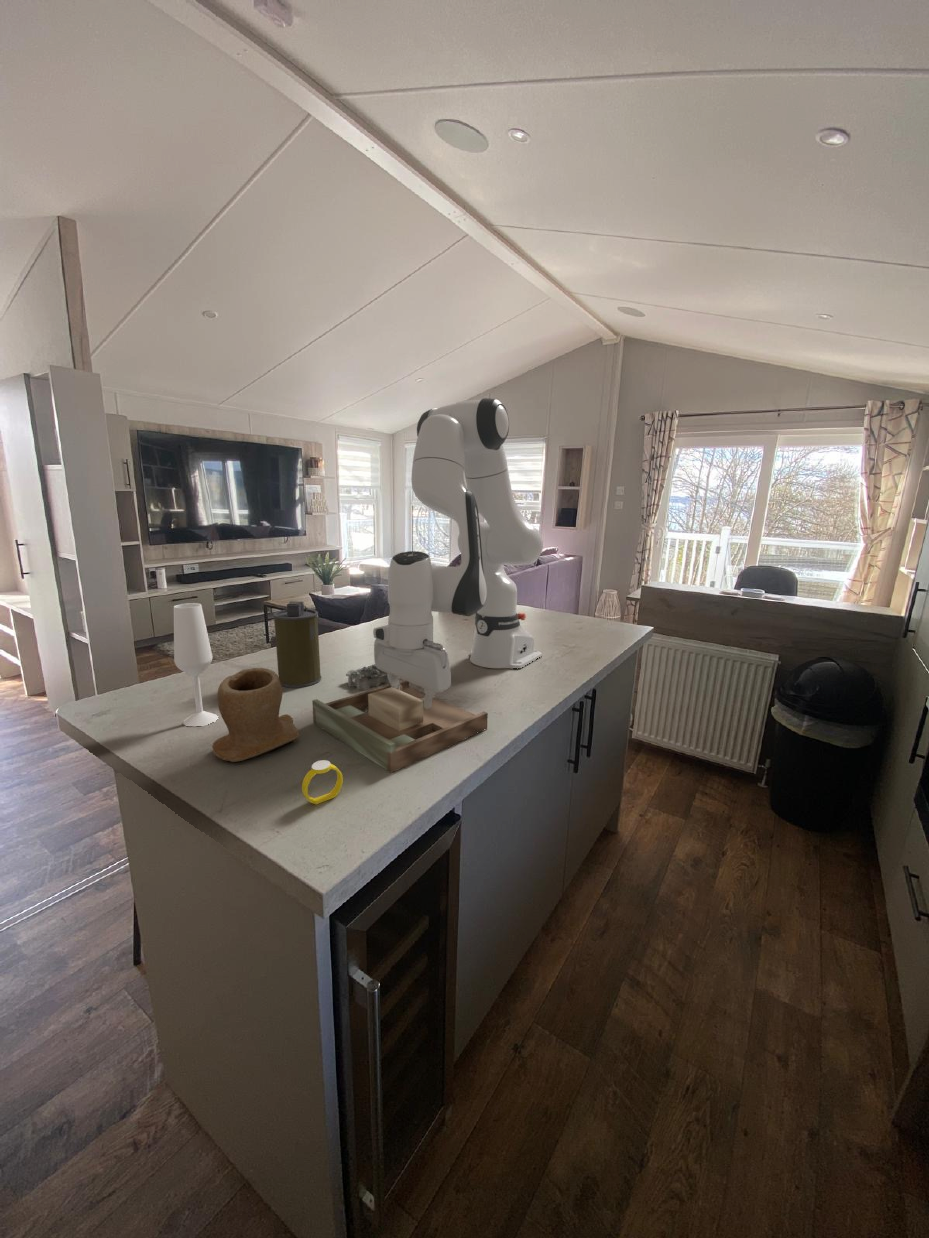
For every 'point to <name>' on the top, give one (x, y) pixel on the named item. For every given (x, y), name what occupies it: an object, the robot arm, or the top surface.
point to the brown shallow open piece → (388, 742)
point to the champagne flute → (192, 654)
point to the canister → (297, 645)
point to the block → (395, 708)
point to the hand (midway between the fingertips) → (411, 700)
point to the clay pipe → (252, 715)
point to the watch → (321, 768)
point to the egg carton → (366, 677)
